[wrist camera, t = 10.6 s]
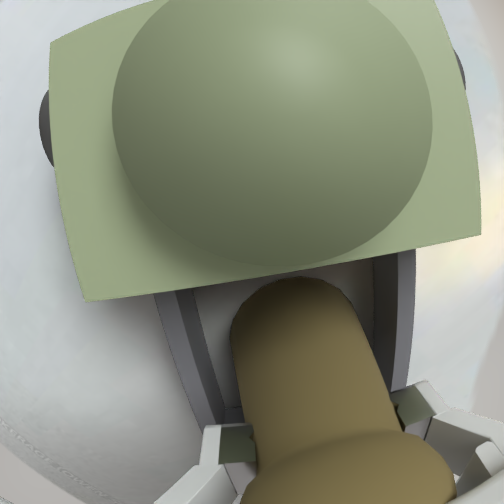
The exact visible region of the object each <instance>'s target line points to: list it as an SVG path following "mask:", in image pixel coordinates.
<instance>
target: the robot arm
mask: <svg viewBox="0 0 504 504" xmlns="http://www.w3.org/2000/svg"><path fill="white" fill-rule="evenodd" d="M389 397H390V400H391V402H392V404H393V406H394V409H395V412H396V415H397V417H398V420H399V423H400V426H401V429H402V432H405V433H409V434H414V435H418V436H419V437H420V438H421V439H423V440H424V441H425V442H426V443H427V444H429V445H430V446H431V447H432V448H434V449H435V450H436V451H437V452H438V453H439V454H440V455H441V456H442V457H443V458H444V460H445V461H446V463H447V464H448V466H449V468H450V469H451V471H452V472H453V473H454V474H456V475H458V476H460V477H459V479H458V480H457V482H456V483H455V484H456V489H457V497H456V498H455V499H453V500H452V501H450V502H448V503H446V504H504V423H502V422H499V421H495V420H492V419H489V418H486V417H483V416H479V415H476V414H473V413H470V412H467V411H464V410H461V409H458V408H455V407H453V408H451V409H450V408H449V406H448V405H447V404H446V402H445V401H444V400H443V399H442V397H441V396H440V395H439V394H438V393H437V391H436V390H435V389H434V388H433V386H432V385H431V384H430V383H429V381H427V380H423V381H421V382H418V383H415V384H413V385H410V386H407V387H404V388H401V389H398V390H395V391H392V392H389ZM253 435H254V430H253V426H252V424H251V422H247V423H234V424H222V425H206V426H205V428H204V432H203V439H202V446H201V453H200V460H199V465H194V466H193V467H192V468H191V469H190V470H189V471H188V472H187V473H186V474H185V475H184V476H182V477H181V478H180V479H179V480H178V481H177V482H176V483H175V484H174V485H173V486H172V487H171V488H170V489H169V490H167V491H166V492H165V493H164V494H163V495H162V496H161V497H160V498H159V499H157V500H156V501H155V502H154V503H153V504H232V503H233V501H234V500H235V499H236V497H237V494H244V491H245V489H246V486H247V485H248V484H249V483H250V482H251V481H252V480H253V479H254V478H255V477H256V472H257V469H258V463H257V453H256V444H255V442H254V441H253ZM0 504H13V503H11V502H9V501H7V500H5V499H4V498H2V497H0Z"/></svg>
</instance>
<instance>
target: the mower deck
mask: <svg viewBox="0 0 504 504" xmlns="http://www.w3.org/2000/svg"><path fill="white" fill-rule="evenodd" d="M465 90H466V86H465V76H464V71H463V67H462V64H461V62H460V59H459V57H458V55H457V54H456V52H455V50H454V49H453V47H452V44H451V41H450V38H449V36H448V33H447V30H446V28H445V25H444V22H443V20H442V18H441V15H440V13H439V10H438V8H437V6H436V4H435V1H434V0H153V1H150V2H146V3H143V4H140V5H137V6H134V7H131V8H128V9H125V10H122V11H119V12H117V13H114V14H111V15H109V16H106V17H104V18H101V19H99V20H97V21H94V22H92V23H90V24H87V25H85V26H83V27H81V28H79V29H76V30H74V31H72V32H70V33H68V34H66V35H64V36H62V37H60V38H58V39H56V40H55V41H53V42H51V43H50V58H49V90H48V91H47V92H46V94H45V96H44V98H43V100H42V103H41V107H40V113H39V129H40V136H41V141H42V144H43V148H44V150H45V153H46V155H47V157H48V159H49V161H50V163H51V164H52V166H53V167H54V169H55V176H56V183H57V189H58V195H59V201H60V206H61V211H62V216H63V221H64V226H65V230H66V235H67V239H68V243H69V247H70V251H71V255H72V259H73V263H74V266H75V270H76V273H77V277H78V280H79V284H80V287H81V290H82V293H83V296H84V299H85V302H92V301H100V300H108V299H115V298H123V297H130V296H138V295H145V294H152V293H153V294H154V297H155V301H156V304H157V308H158V311H159V315H160V318H161V321H162V324H163V328H164V331H165V334H166V337H167V340H168V343H169V346H170V349H171V352H172V355H173V358H174V361H175V364H176V367H177V370H178V373H179V375H180V378H181V381H182V384H183V386H184V389H185V392H186V394H187V397H188V400H189V402H190V405H191V407H192V410H193V412H194V415H195V417H196V420H197V422H198V425H199V427H200V429H201V432H202V434H203V432H204V428H205V426H206V425H222V424H234V423H245V419H244V414H243V408H242V407H240V408H230V409H225V406H224V403H223V400H222V397H221V393H220V390H219V387H218V383H217V380H216V377H215V373H214V370H213V366H212V363H211V359H210V356H209V352H208V349H207V345H206V341H205V338H204V334H203V330H202V326H201V322H200V319H199V315H198V311H197V307H196V303H195V299H194V295H193V291H192V288H193V287H200V286H206V285H213V284H219V283H226V282H232V281H238V280H245V279H251V278H257V277H263V276H269V275H275V274H281V273H287V272H292V271H298V270H304V269H310V268H315V267H321V266H327V265H332V264H338V263H343V262H348V261H354V260H359V259H365V258H370V257H373V275H374V348H373V355H374V357H375V360H376V362H377V365H378V367H379V370H380V372H381V375H382V377H383V380H384V383H385V385H386V388H387V390H388V393H389V392H392V391H395V390H398V389H401V388H404V387H406V383H407V376H408V369H409V362H410V354H411V345H412V335H413V323H414V307H415V282H416V248H421V247H426V246H430V245H435V244H440V243H445V242H450V241H454V240H459V239H464V238H468V237H473V236H478V235H481V197H480V181H479V169H478V160H477V152H476V144H475V137H474V131H473V125H472V120H471V115H470V110H469V105H468V100H467V96H466V92H465Z"/></svg>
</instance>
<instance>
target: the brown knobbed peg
mask: <svg viewBox="0 0 504 504" xmlns="http://www.w3.org/2000/svg"><path fill="white" fill-rule="evenodd" d="M230 343H231V349H232V354H233V360H234V366H235V371H236V377H237V382H238V387H239V393H240V398H241V403H242V408H243V414H244V419H245V423H247V422H251V424H252V426H253V430H254V435H253V441H254V442H255V444H256V453H257V463H258V469H257V472H256V477H255V478H254V479H253V480H252V481H251V482H250V483H249V484H248V485H247V486H246V489H245V491H244V494H243V496H242V499H241V501H240V504H446V503H448V502H450V501H452V500H453V499H455V498H456V497H457V489H456V484H455V480H454V475H453V472H452V471H451V469H450V468H449V466H448V464H447V463H446V461H445V460H444V458H443V457H442V456H441V455H440V454H439V453H438V452H437V451H436V450H435V449H434V448H432V447H431V446H430V445H429V444H427V443H426V442H425V441H424V440H423V439H421V438H420V437H419V436H418V435H414V434H409V433H405V432H402V429H401V426H400V423H399V420H398V417H397V415H396V412H395V409H394V406H393V404H392V402H391V400H390V397H389V393H388V390H387V388H386V385H385V383H384V380H383V377H382V375H381V372H380V370H379V367H378V365H377V362H376V360H375V357H374V355H373V352H372V350H371V348H370V345H369V343H368V340H367V338H366V336H365V333H364V331H363V329H362V326H361V324H360V322H359V319H358V317H357V315H356V313H355V310H354V308H353V306H352V304H351V302H350V301H349V300H348V299H347V297H346V296H345V295H344V294H343V293H342V292H341V291H340V289H338V288H336V287H334V286H332V285H331V284H329V283H327V282H325V281H323V280H319V279H313V278H307V277H294V278H287V279H280V280H277V281H275V282H273V283H271V284H268V285H266V286H264V287H262V288H260V289H258V290H257V291H256V292H255V293H254V294H253V295H251V296H250V297H249V298H248V299H247V300H246V301H245V302H243V304H242V305H241V307H240V309H239V311H238V312H237V314H236V316H235V317H234V319H233V322H232V328H231V333H230Z"/></svg>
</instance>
